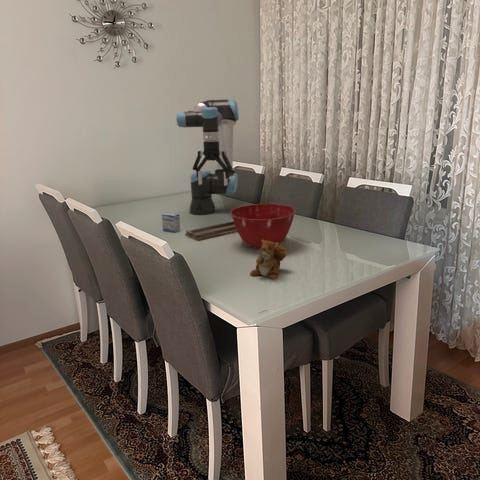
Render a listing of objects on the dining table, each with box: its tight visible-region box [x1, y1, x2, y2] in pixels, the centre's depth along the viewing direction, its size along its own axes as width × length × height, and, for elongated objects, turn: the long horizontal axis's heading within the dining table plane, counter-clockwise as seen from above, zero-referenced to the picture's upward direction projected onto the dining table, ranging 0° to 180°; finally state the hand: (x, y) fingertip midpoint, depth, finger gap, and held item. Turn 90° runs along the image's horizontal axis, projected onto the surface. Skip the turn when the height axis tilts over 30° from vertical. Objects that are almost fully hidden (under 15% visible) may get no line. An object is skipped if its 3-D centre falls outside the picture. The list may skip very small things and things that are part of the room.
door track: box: [184, 220, 238, 242], centre depth 223 cm, size 12×30×2 cm, turn 126°
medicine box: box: [161, 212, 181, 233], centre depth 227 cm, size 8×4×9 cm, turn 62°
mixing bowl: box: [230, 203, 296, 250], centre depth 201 cm, size 28×28×16 cm
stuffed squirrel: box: [249, 240, 288, 280], centre depth 168 cm, size 10×14×13 cm
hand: (213, 184), depth 224 cm, fingers open, 13 cm apart
